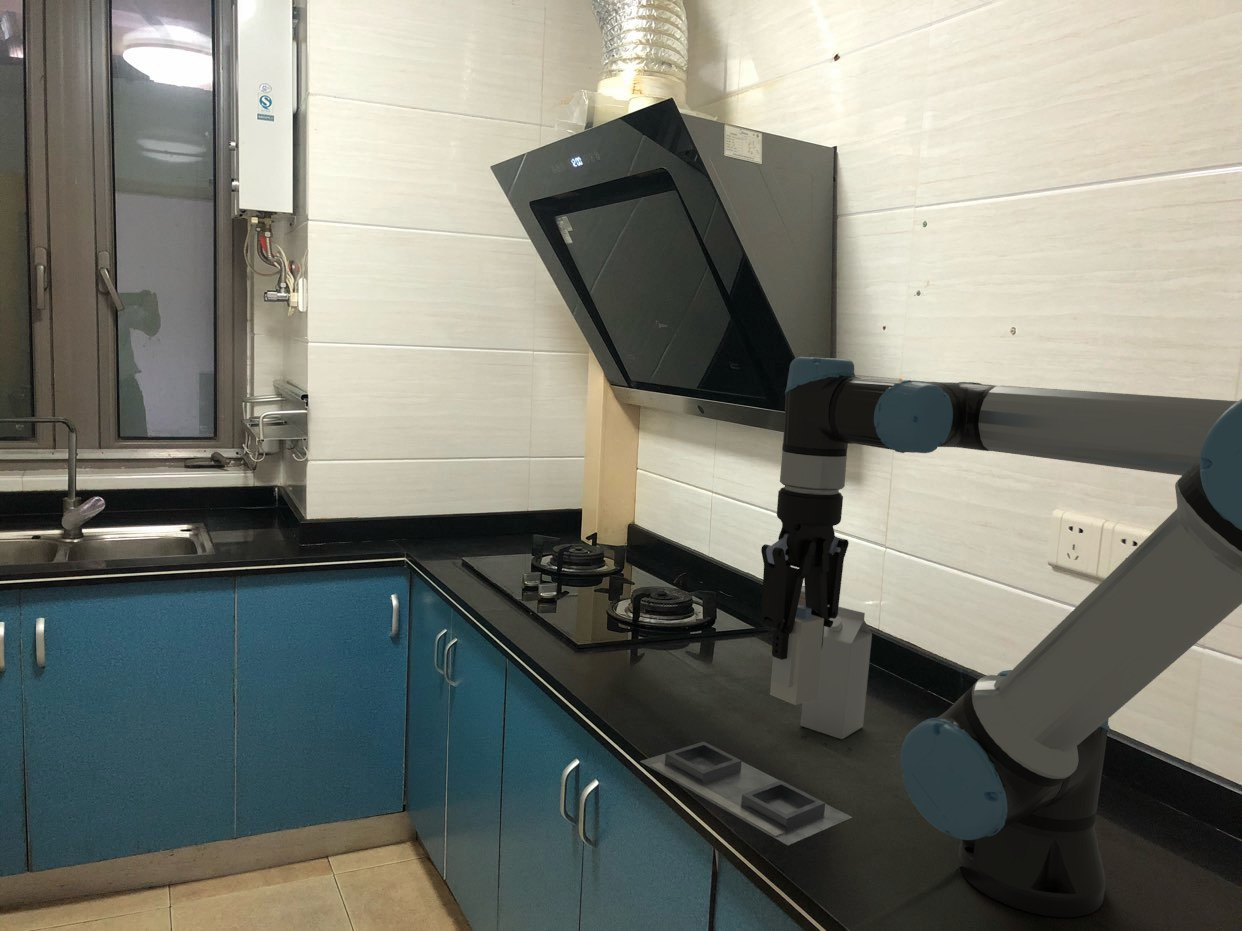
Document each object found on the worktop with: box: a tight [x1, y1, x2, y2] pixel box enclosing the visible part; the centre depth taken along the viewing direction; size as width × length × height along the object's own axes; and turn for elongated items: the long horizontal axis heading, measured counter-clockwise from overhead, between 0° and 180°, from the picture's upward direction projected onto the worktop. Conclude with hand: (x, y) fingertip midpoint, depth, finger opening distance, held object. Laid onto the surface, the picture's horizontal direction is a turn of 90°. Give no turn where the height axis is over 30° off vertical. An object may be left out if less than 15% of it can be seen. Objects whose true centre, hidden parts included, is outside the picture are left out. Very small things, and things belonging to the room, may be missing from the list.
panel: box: [639, 741, 853, 846], centre depth 124 cm, size 26×12×2 cm, turn 40°
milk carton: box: [800, 605, 873, 740], centre depth 148 cm, size 7×7×19 cm
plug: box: [769, 605, 824, 706], centre depth 116 cm, size 4×4×11 cm
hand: (795, 679), depth 116 cm, fingers closed on plug, 4 cm apart
